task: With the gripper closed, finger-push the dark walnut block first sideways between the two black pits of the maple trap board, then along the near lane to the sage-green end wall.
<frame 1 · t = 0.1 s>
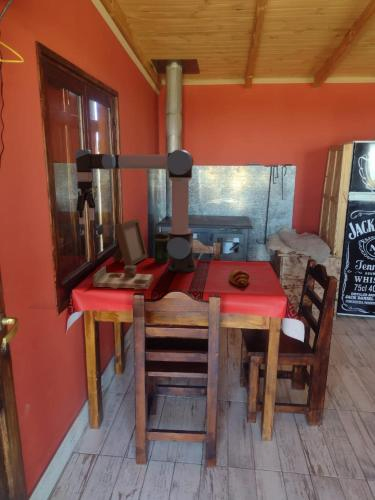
hand: (87, 222, 187), 28 cm above the table, fingers open, 13 cm apart
walnut block: (130, 276, 181), point 2 cm above the table, touching trap board
croissant: (239, 282, 182), on the table
trap board: (124, 283, 178), on the table
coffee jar: (162, 262, 217), on the table
photo frame: (129, 261, 217), on the table
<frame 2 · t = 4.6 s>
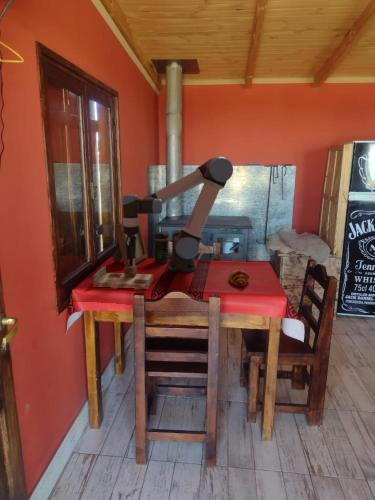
hand: (131, 270, 185), 4 cm above the table, fingers closed
walnut block: (130, 276, 181), point 2 cm above the table, touching gripper, trap board
everything else where it was.
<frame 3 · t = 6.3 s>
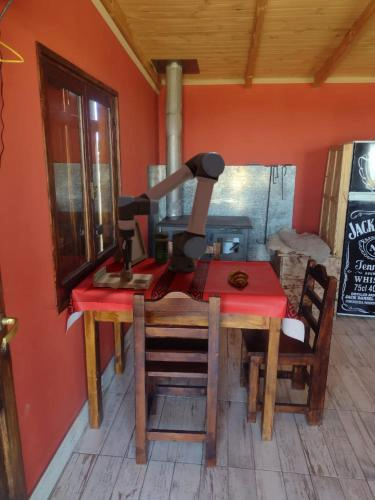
hand: (127, 275, 177), 4 cm above the table, fingers closed
walnut block: (126, 280, 174), point 3 cm above the table, touching gripper, trap board
everything else where it was.
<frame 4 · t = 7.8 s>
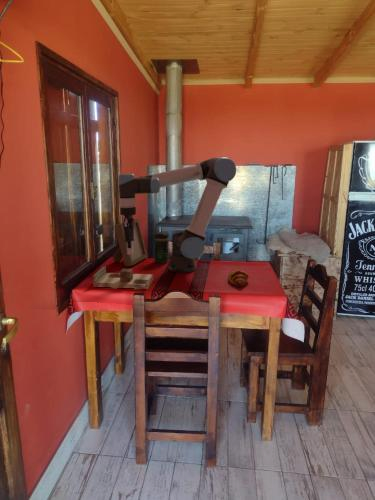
hand: (130, 253, 178), 14 cm above the table, fingers closed
walnut block: (126, 280, 174), point 2 cm above the table, touching trap board
everything else where it was.
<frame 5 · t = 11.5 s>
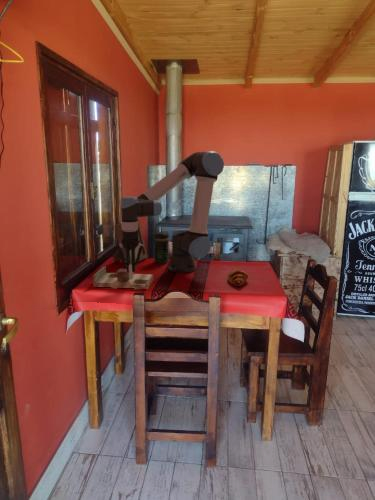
hand: (131, 278, 172), 4 cm above the table, fingers closed
walnut block: (123, 280, 174), point 3 cm above the table, touching gripper
everything else where it was.
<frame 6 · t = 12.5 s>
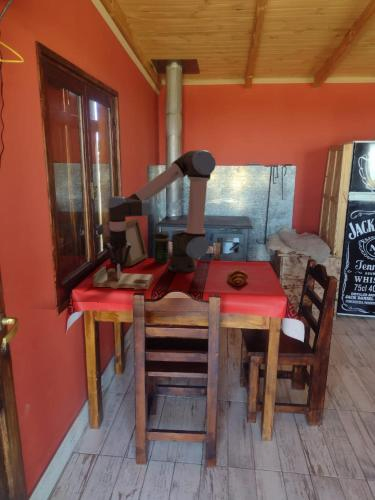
hand: (119, 277, 173), 4 cm above the table, fingers closed
walnut block: (114, 279, 175), point 2 cm above the table, touching gripper, trap board
everything else where it was.
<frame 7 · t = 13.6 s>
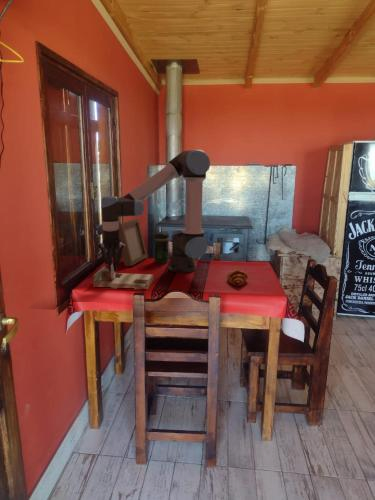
hand: (113, 277, 173), 4 cm above the table, fingers closed
walnut block: (108, 279, 175), point 3 cm above the table, touching gripper, trap board
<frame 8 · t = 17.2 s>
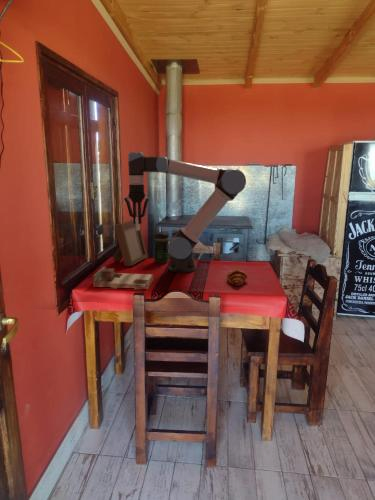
hand: (137, 230, 185), 24 cm above the table, fingers closed
walnut block: (108, 279, 175), point 2 cm above the table, touching trap board
at the end: walnut block 2.4 cm from the target spot on the trap board, point 2.5 cm above the trap board's base; walnut block tilted 0° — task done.
